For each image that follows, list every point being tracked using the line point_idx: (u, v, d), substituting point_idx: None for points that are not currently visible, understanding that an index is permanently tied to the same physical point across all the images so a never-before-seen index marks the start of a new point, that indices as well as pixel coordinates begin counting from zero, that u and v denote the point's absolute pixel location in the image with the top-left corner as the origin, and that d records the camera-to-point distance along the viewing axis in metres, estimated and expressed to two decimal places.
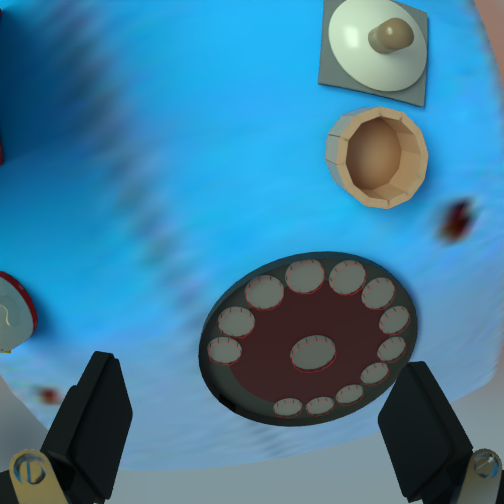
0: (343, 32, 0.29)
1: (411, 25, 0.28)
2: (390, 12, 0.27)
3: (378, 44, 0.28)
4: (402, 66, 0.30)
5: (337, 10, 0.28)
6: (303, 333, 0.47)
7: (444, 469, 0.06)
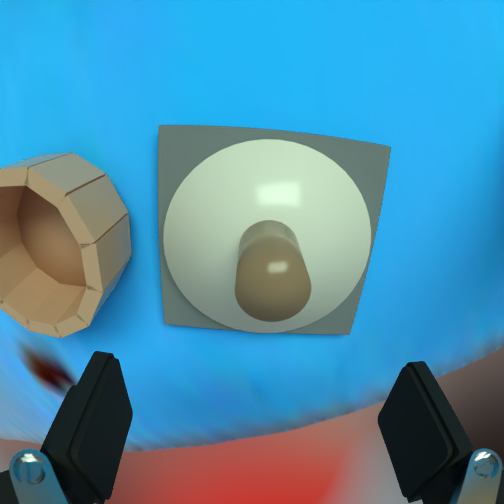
0: (273, 169, 0.18)
1: (316, 307, 0.21)
2: (337, 269, 0.20)
3: (248, 240, 0.17)
4: (222, 287, 0.21)
5: (325, 159, 0.17)
6: None
7: (444, 469, 0.06)
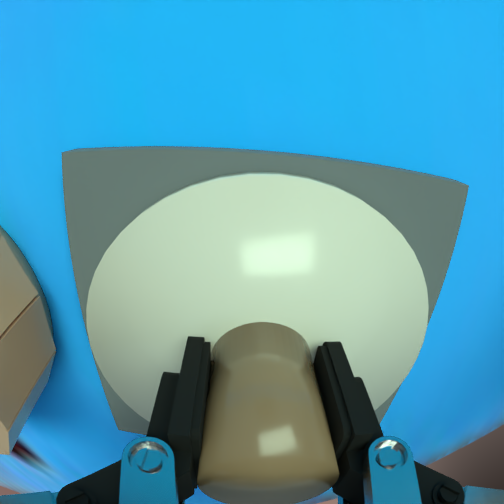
0: (270, 233, 0.09)
1: None
2: (368, 379, 0.12)
3: (222, 377, 0.09)
4: None
5: (370, 213, 0.09)
6: None
7: (345, 452, 0.07)
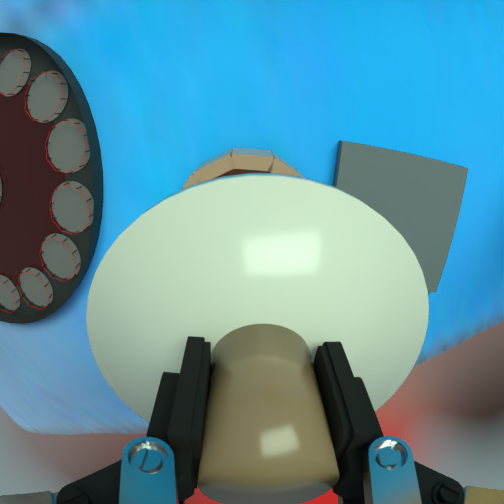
0: (270, 235, 0.09)
1: None
2: (368, 381, 0.12)
3: (222, 379, 0.09)
4: None
5: (370, 215, 0.09)
6: (1, 165, 0.25)
7: (345, 452, 0.07)
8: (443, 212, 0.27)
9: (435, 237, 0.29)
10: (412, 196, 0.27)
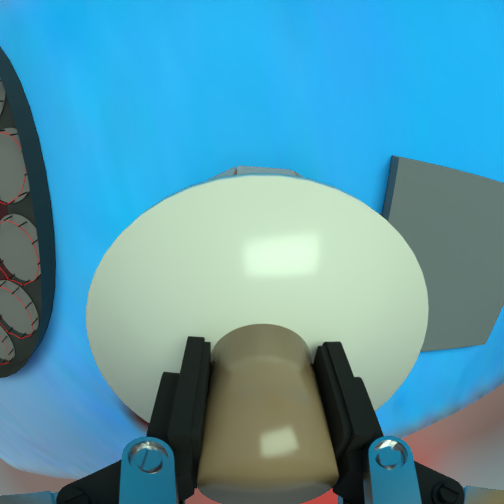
0: (270, 235, 0.09)
1: None
2: (368, 381, 0.12)
3: (221, 379, 0.09)
4: None
5: (370, 215, 0.09)
6: None
7: (345, 452, 0.07)
8: None
9: (495, 282, 0.20)
10: (478, 233, 0.18)
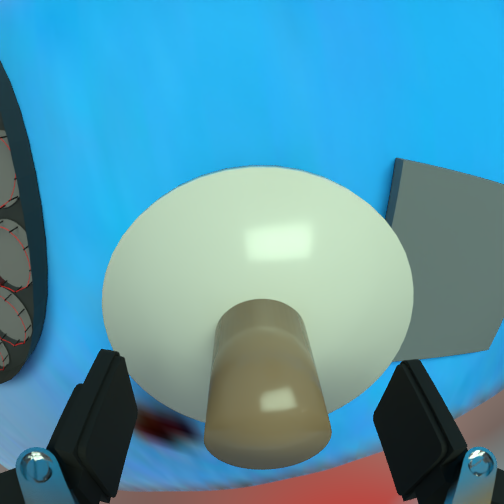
0: (268, 218, 0.10)
1: (326, 401, 0.14)
2: (360, 356, 0.13)
3: (226, 345, 0.10)
4: (194, 383, 0.13)
5: (356, 201, 0.10)
6: None
7: (438, 467, 0.06)
8: None
9: (499, 287, 0.19)
10: (483, 238, 0.17)
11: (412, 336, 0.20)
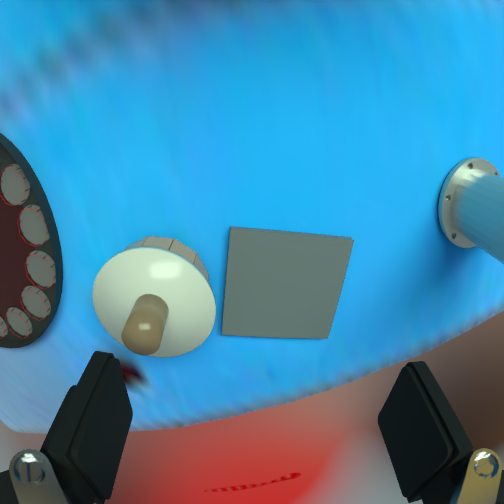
0: (147, 266, 0.29)
1: (186, 343, 0.33)
2: (195, 322, 0.32)
3: (133, 309, 0.28)
4: None
5: (178, 260, 0.29)
6: None
7: (444, 469, 0.06)
8: (327, 278, 0.37)
9: (320, 297, 0.38)
10: (295, 267, 0.36)
11: (256, 321, 0.39)
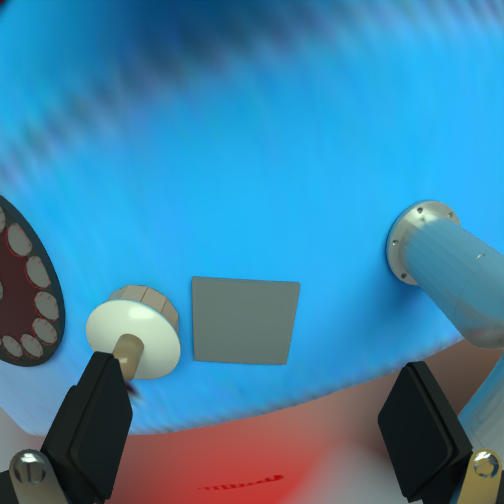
0: (124, 313, 0.36)
1: (161, 370, 0.40)
2: (165, 354, 0.38)
3: (115, 346, 0.35)
4: None
5: (146, 310, 0.36)
6: (0, 274, 0.41)
7: (444, 469, 0.06)
8: (279, 316, 0.43)
9: (275, 331, 0.44)
10: (249, 308, 0.43)
11: (221, 350, 0.46)
